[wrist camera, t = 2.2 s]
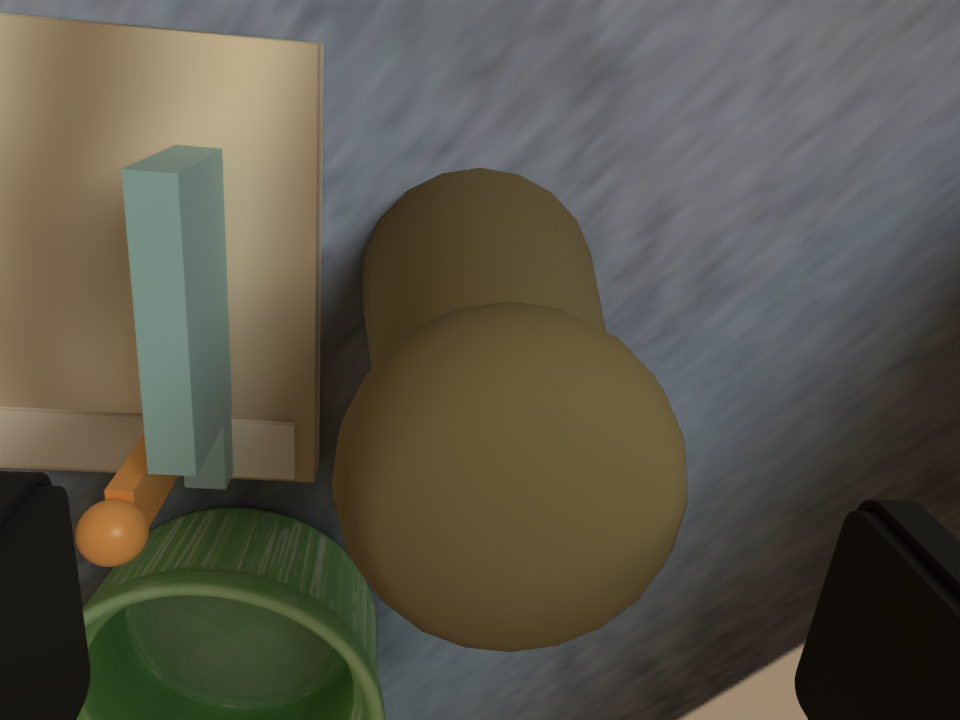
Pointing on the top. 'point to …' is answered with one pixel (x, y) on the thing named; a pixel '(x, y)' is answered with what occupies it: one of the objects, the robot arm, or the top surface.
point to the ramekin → (233, 626)
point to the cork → (501, 425)
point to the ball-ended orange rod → (123, 512)
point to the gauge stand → (103, 236)
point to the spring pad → (181, 311)
